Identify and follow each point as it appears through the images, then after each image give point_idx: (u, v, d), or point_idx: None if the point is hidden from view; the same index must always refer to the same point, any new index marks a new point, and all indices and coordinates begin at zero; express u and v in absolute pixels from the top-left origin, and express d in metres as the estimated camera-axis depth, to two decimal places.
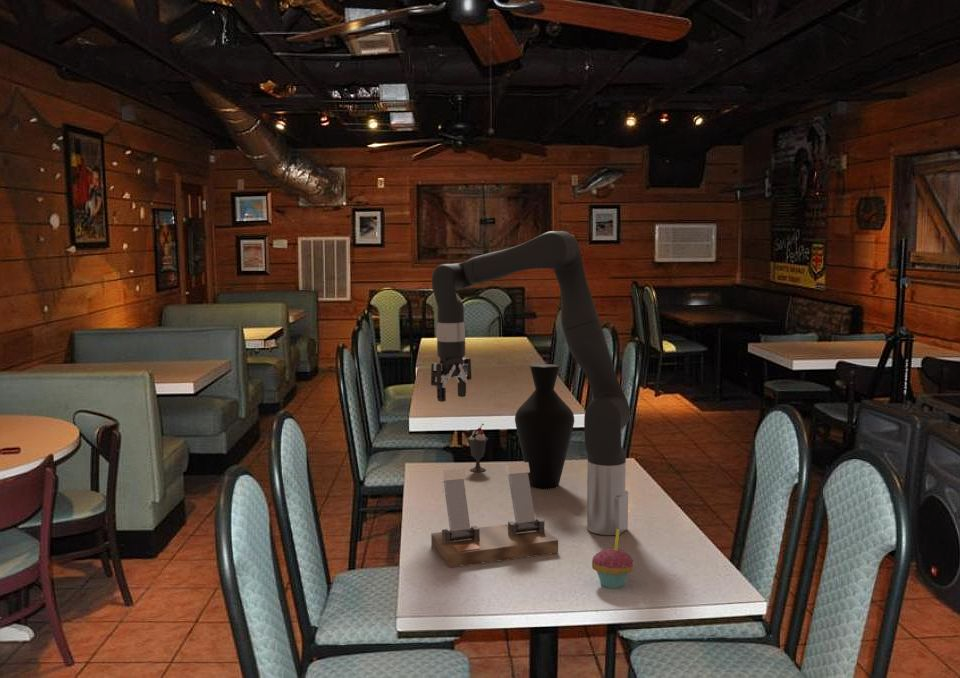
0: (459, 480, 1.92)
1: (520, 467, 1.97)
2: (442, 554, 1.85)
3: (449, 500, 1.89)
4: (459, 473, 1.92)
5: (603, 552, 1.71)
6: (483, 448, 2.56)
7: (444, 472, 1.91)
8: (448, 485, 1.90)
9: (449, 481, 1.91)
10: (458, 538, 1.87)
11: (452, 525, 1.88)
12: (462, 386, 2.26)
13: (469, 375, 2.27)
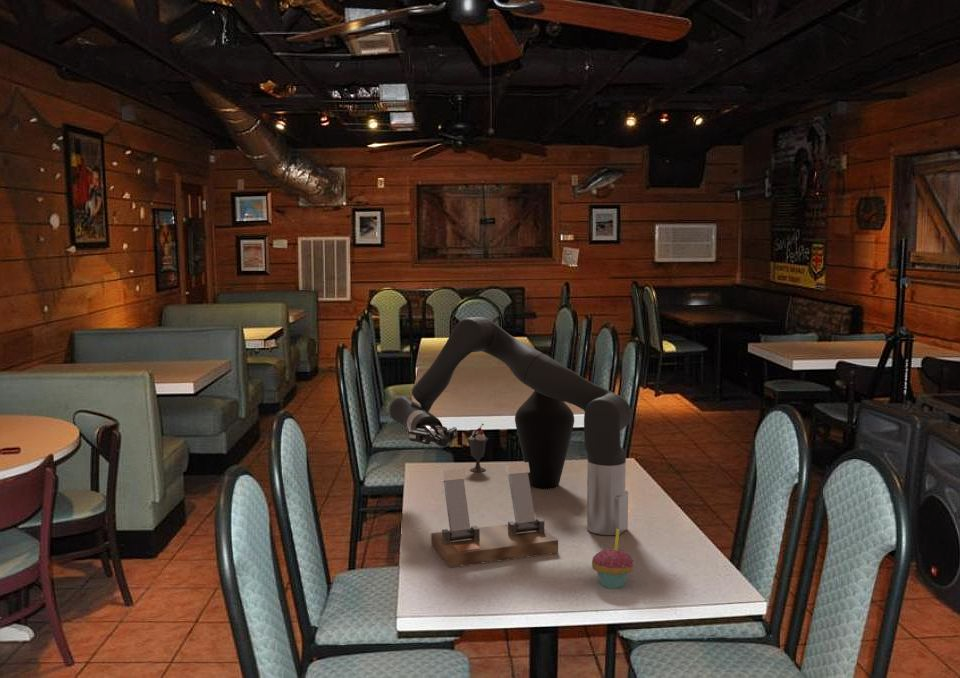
0: (459, 480, 1.92)
1: (520, 467, 1.97)
2: (442, 554, 1.85)
3: (449, 500, 1.89)
4: (459, 473, 1.92)
5: (603, 552, 1.71)
6: (483, 448, 2.56)
7: (444, 472, 1.91)
8: (448, 485, 1.90)
9: (449, 481, 1.91)
10: (458, 538, 1.87)
11: (452, 525, 1.88)
12: None
13: None
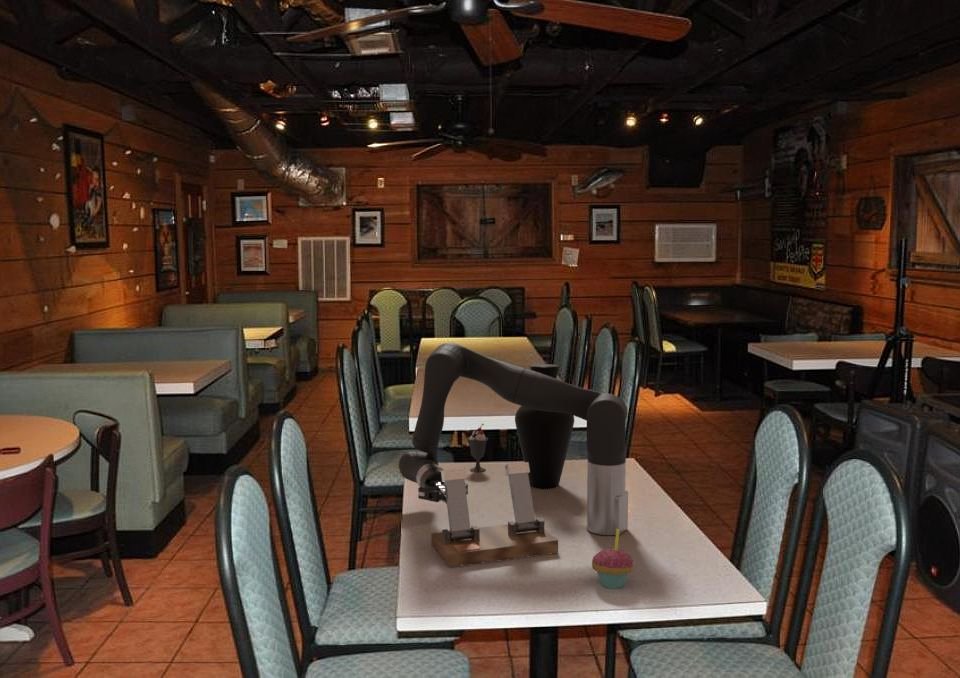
0: (460, 480, 1.91)
1: (520, 467, 1.97)
2: (442, 554, 1.85)
3: (450, 500, 1.89)
4: (460, 473, 1.91)
5: (603, 552, 1.71)
6: (483, 448, 2.56)
7: (445, 472, 1.90)
8: (449, 485, 1.90)
9: (450, 481, 1.90)
10: (458, 539, 1.87)
11: (452, 525, 1.88)
12: None
13: None
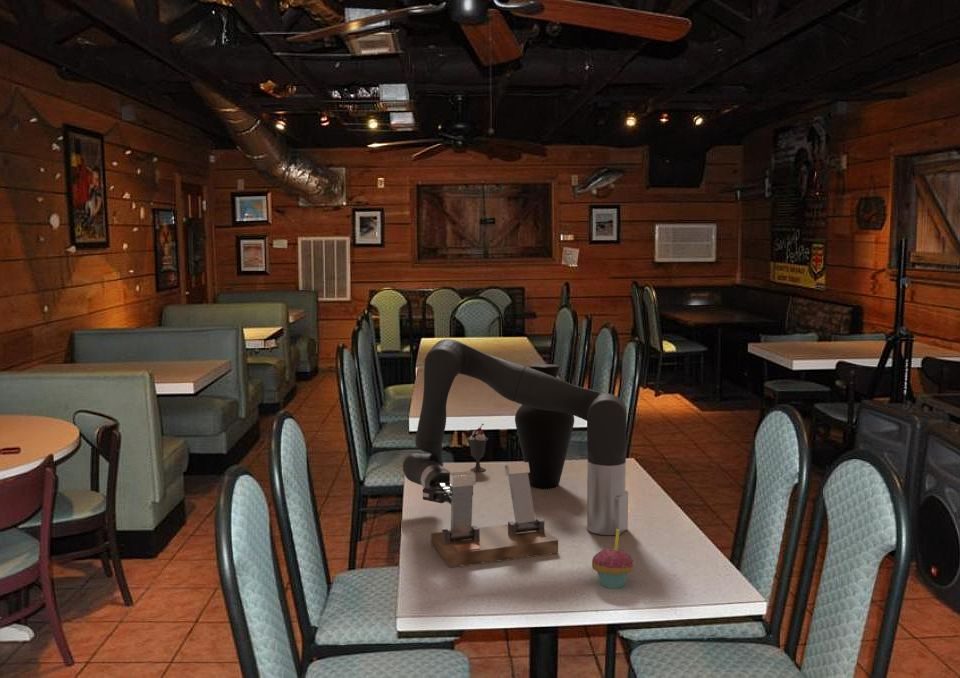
0: (468, 485, 1.85)
1: (520, 467, 1.97)
2: (442, 554, 1.85)
3: (455, 505, 1.85)
4: (470, 480, 1.85)
5: (603, 552, 1.71)
6: (483, 448, 2.56)
7: (454, 478, 1.83)
8: (456, 490, 1.85)
9: (458, 486, 1.84)
10: None
11: (454, 528, 1.87)
12: None
13: None
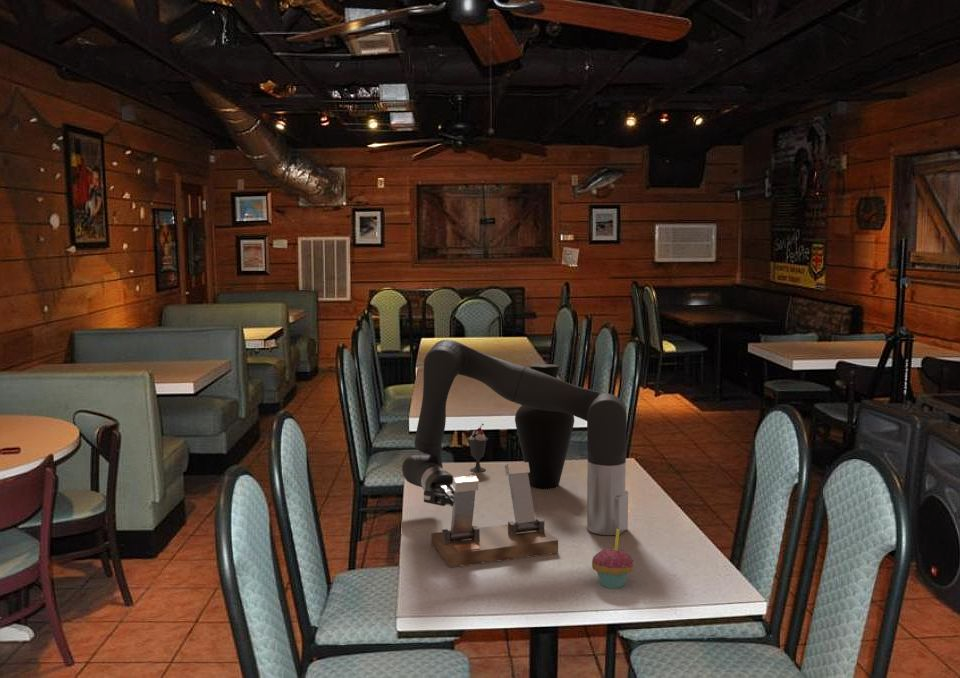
0: (471, 490, 1.84)
1: (520, 467, 1.97)
2: (442, 554, 1.85)
3: (456, 508, 1.84)
4: (473, 485, 1.83)
5: (603, 552, 1.71)
6: (483, 448, 2.56)
7: (457, 484, 1.81)
8: (458, 495, 1.83)
9: (460, 491, 1.83)
10: None
11: (454, 529, 1.86)
12: None
13: None
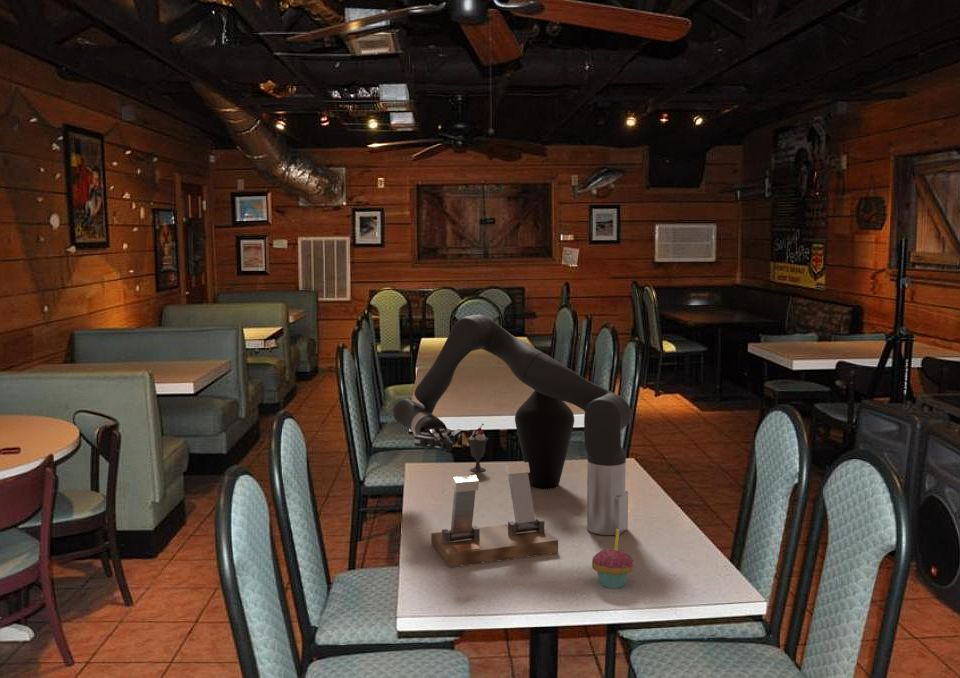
0: None
1: (520, 467, 1.97)
2: (442, 554, 1.85)
3: (456, 508, 1.84)
4: (473, 485, 1.83)
5: (603, 552, 1.71)
6: (483, 448, 2.56)
7: (457, 484, 1.81)
8: (458, 495, 1.83)
9: (460, 491, 1.83)
10: None
11: (454, 529, 1.86)
12: None
13: None
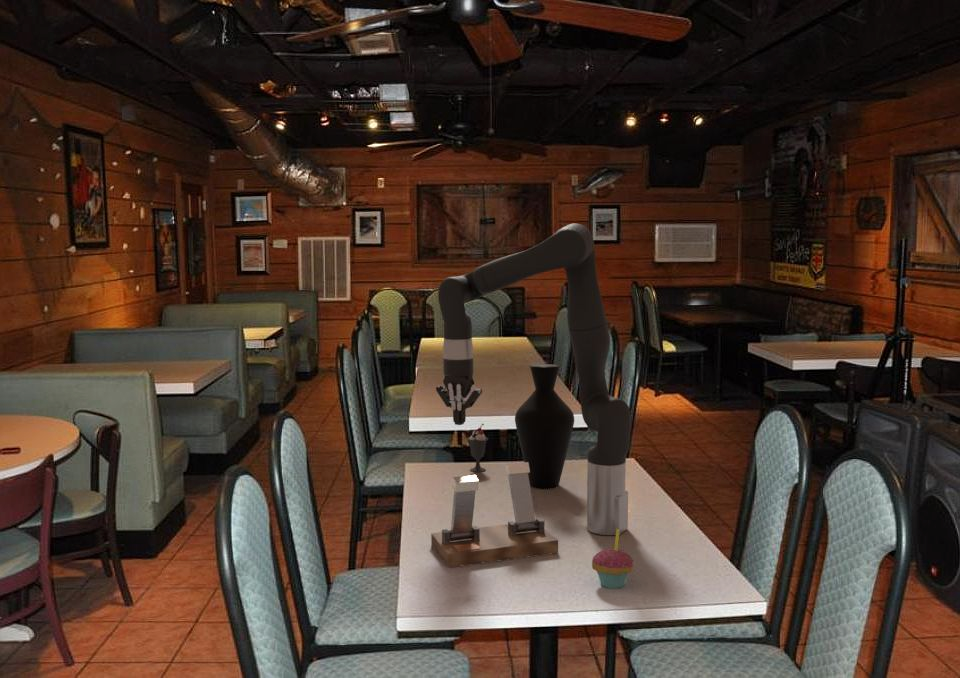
0: None
1: (520, 467, 1.97)
2: (442, 554, 1.85)
3: (456, 508, 1.84)
4: (473, 485, 1.83)
5: (603, 552, 1.71)
6: (483, 448, 2.56)
7: (457, 484, 1.81)
8: (458, 495, 1.83)
9: (460, 491, 1.83)
10: None
11: (454, 529, 1.86)
12: None
13: None
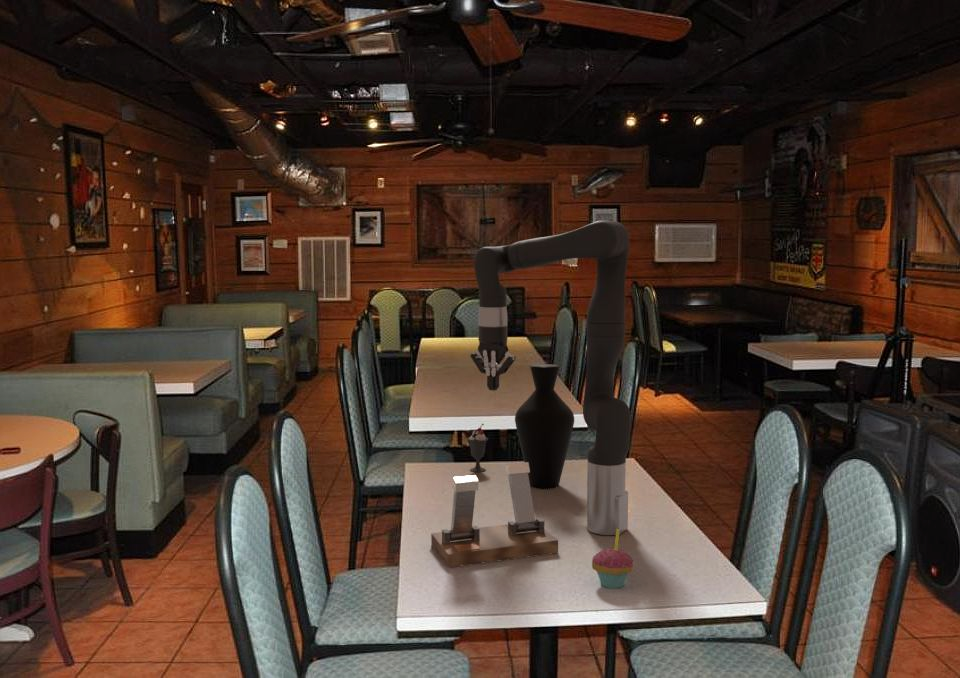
0: None
1: (520, 467, 1.97)
2: (442, 554, 1.85)
3: (456, 508, 1.84)
4: (473, 485, 1.83)
5: (603, 552, 1.71)
6: (483, 448, 2.56)
7: (457, 484, 1.81)
8: (458, 495, 1.83)
9: (460, 491, 1.83)
10: None
11: (454, 529, 1.86)
12: None
13: None
